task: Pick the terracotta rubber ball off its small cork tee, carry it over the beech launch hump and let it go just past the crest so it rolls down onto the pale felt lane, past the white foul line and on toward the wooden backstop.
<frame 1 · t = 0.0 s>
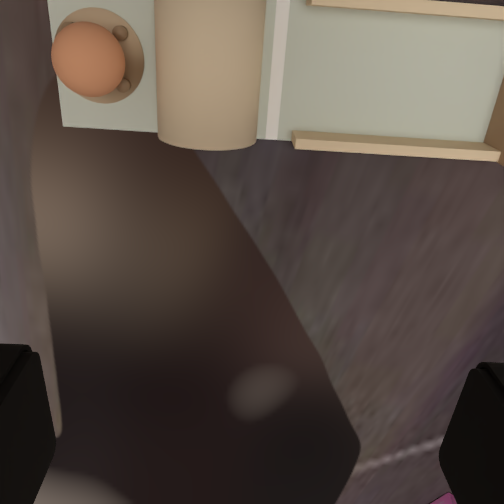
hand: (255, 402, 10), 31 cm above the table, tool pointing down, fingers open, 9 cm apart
ball: (89, 60, 32), point 3 cm above the table, touching tee
tee: (101, 56, 35), resting on lane
lane: (248, 67, 36), on the table
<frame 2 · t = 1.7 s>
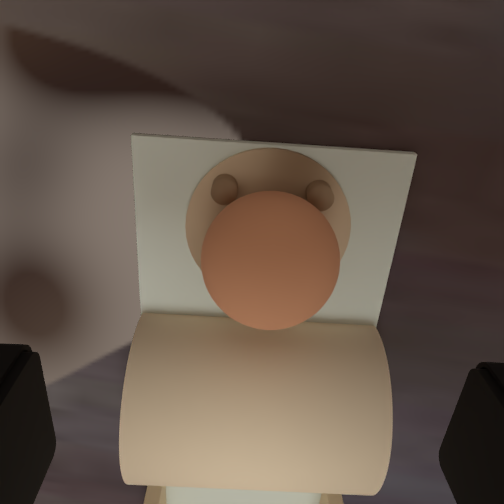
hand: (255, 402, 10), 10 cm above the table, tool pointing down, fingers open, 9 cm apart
ball: (270, 260, 16), point 3 cm above the table, touching tee
tee: (267, 224, 19), resting on lane
lane: (250, 418, 24), on the table
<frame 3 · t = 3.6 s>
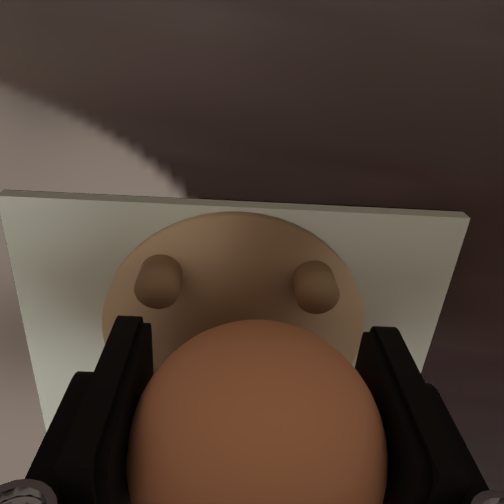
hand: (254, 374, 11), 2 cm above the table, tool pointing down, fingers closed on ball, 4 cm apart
ball: (256, 446, 9), point 4 cm above the table, touching gripper
tee: (234, 319, 12), resting on lane
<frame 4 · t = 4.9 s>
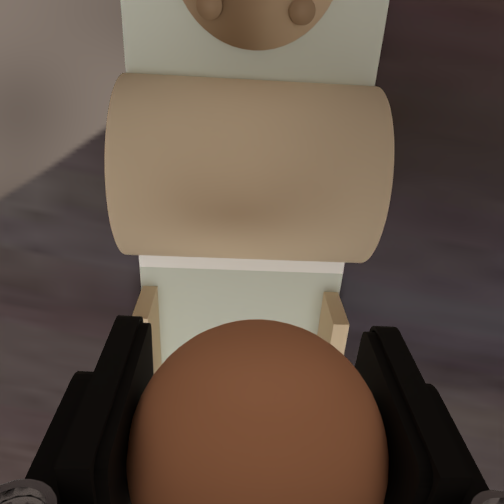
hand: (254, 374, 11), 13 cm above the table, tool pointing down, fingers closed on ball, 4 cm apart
ball: (257, 446, 9), point 15 cm above the table, touching gripper
lane: (244, 219, 23), on the table
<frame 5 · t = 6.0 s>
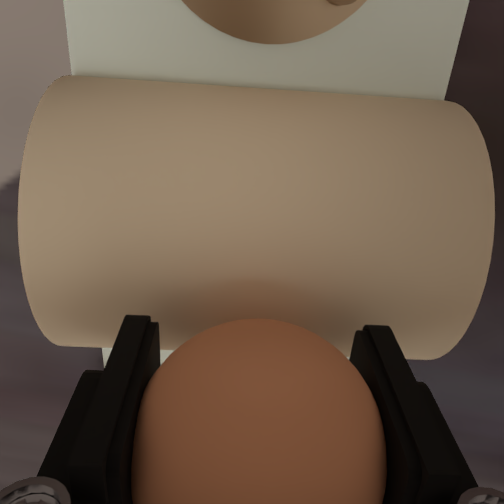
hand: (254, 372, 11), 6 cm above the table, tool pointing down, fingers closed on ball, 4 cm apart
ball: (257, 445, 9), point 8 cm above the table, touching gripper
lane: (247, 281, 17), on the table
when the fingers open (6 cm above the table, at t = 6.1 s): ball drops 5 cm and tips over, resting on lane.
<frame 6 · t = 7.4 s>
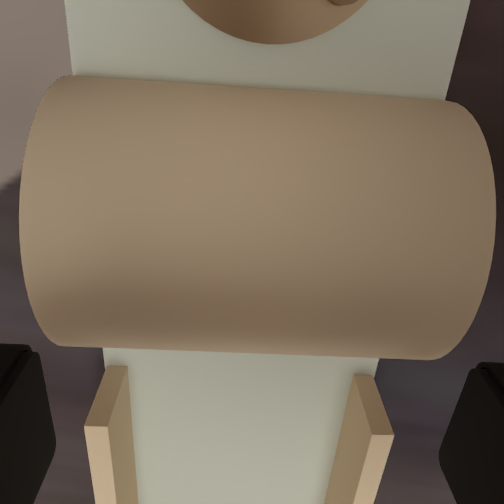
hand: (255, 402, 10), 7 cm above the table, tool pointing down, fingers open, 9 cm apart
lane: (247, 281, 17), on the table
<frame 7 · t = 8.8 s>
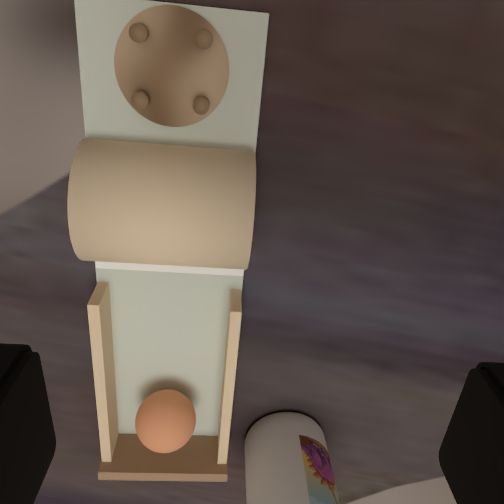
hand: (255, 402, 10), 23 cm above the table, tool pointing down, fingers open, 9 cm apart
milk bottle: (283, 435, 44), on the table
ball: (165, 420, 38), point 3 cm above the table, tilted 77°, touching lane
tee: (173, 68, 27), resting on lane
lane: (171, 236, 33), on the table
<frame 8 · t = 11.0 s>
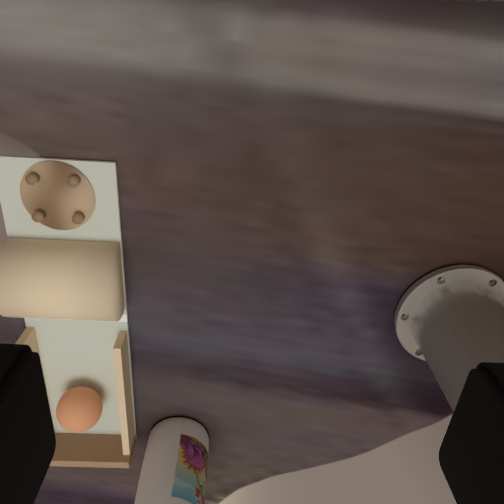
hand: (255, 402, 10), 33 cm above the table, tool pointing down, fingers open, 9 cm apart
milk bottle: (179, 434, 58), on the table
ball: (79, 409, 51), point 3 cm above the table, tilted 25°, touching lane
tee: (60, 194, 42), resting on lane
lane: (74, 296, 48), on the table
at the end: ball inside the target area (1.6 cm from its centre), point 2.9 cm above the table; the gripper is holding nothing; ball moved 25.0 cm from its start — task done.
